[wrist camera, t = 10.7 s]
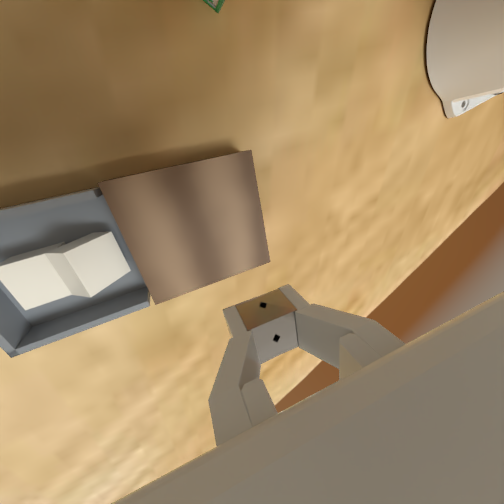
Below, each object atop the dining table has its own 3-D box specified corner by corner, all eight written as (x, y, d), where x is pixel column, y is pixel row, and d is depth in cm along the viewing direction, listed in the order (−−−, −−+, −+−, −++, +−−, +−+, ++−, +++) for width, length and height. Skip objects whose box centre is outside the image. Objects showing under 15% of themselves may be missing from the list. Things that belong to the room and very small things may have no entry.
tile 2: (93, 232, 20) (111, 231, 19) (113, 269, 22) (130, 270, 21) (44, 253, 17) (63, 253, 16) (72, 295, 19) (91, 297, 18)
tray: (102, 186, 20) (92, 190, 17) (150, 288, 24) (149, 306, 21) (-60, 221, 17) (-109, 234, 14) (31, 330, 21) (11, 357, 18)
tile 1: (-10, 269, 16) (10, 256, 18) (25, 310, 18) (39, 294, 20) (52, 251, 17) (64, 241, 19) (79, 292, 19) (87, 279, 21)
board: (240, 151, 23) (251, 150, 20) (259, 252, 28) (270, 261, 26) (105, 180, 19) (97, 183, 17) (155, 290, 25) (155, 304, 22)
